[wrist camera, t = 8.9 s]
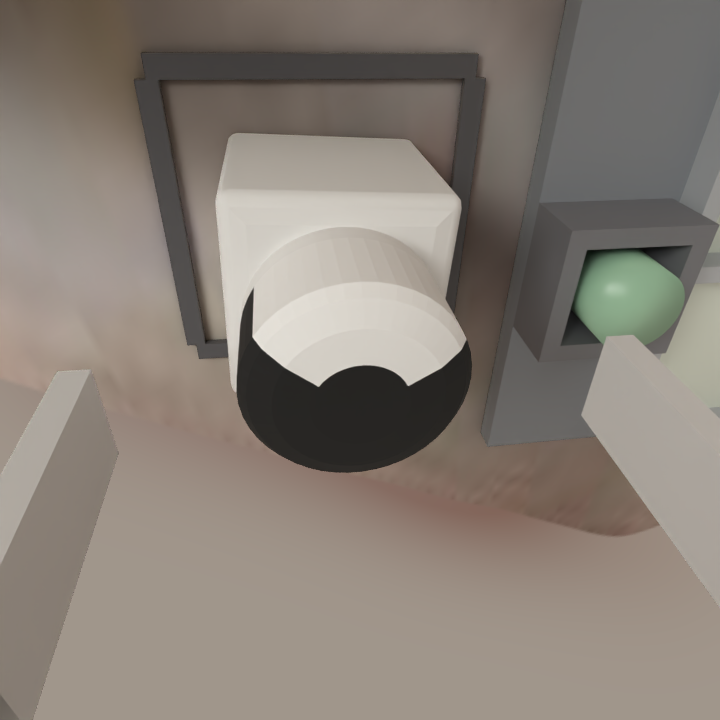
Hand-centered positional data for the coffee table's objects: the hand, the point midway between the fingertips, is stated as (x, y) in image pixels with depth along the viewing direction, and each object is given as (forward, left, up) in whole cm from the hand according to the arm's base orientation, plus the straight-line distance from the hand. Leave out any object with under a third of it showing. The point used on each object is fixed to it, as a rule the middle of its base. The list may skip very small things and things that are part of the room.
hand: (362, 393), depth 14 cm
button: (+12, -2, -9) cm, 15 cm away
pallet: (+18, -2, -11) cm, 21 cm away
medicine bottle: (0, 0, -11) cm, 11 cm away
